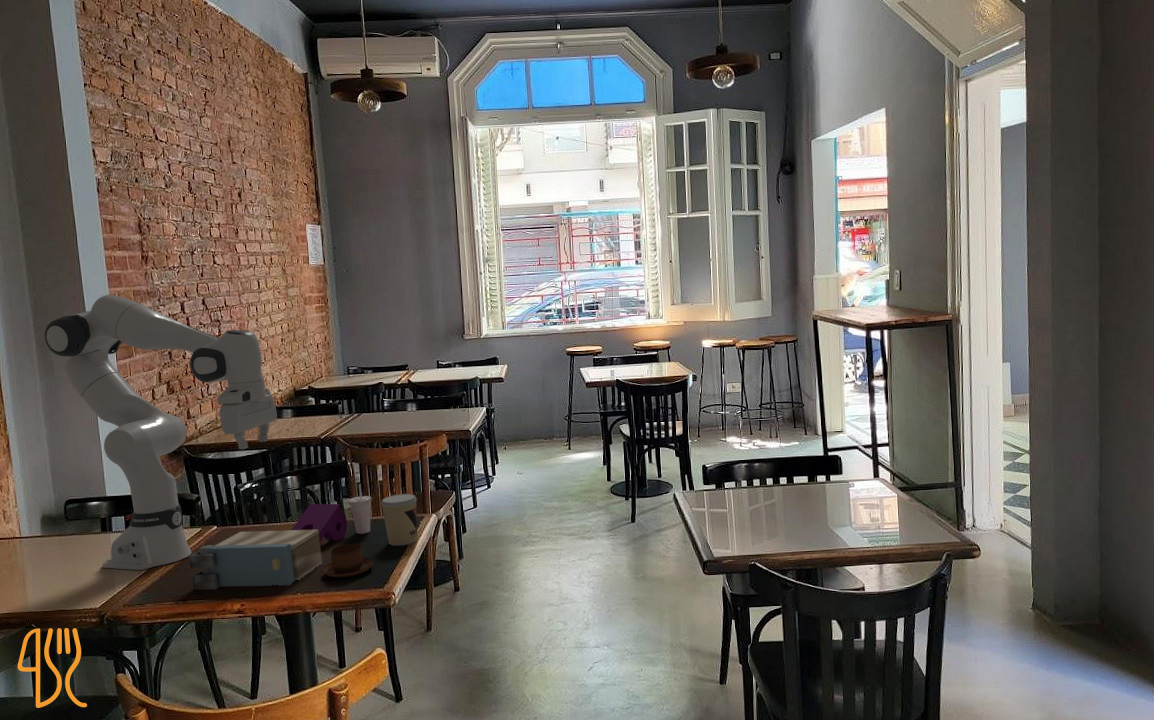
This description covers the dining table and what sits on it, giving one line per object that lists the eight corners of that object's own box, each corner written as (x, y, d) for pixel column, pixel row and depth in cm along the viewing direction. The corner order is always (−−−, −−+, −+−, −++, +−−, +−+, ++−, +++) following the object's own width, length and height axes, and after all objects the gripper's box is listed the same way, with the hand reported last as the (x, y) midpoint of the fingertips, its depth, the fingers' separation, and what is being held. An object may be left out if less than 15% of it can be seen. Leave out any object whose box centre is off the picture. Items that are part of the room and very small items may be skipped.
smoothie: (363, 536, 241) (357, 487, 239) (347, 534, 244) (341, 486, 243) (379, 529, 246) (374, 481, 245) (363, 527, 249) (358, 480, 248)
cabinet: (193, 589, 207) (188, 553, 206) (233, 565, 223) (229, 532, 222) (288, 588, 202) (283, 551, 201) (322, 563, 218) (318, 529, 218)
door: (199, 588, 207) (194, 550, 206) (209, 582, 211) (204, 545, 210) (287, 587, 203) (282, 548, 202) (295, 581, 207) (291, 543, 206)
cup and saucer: (313, 580, 207) (310, 555, 206) (343, 563, 218) (341, 540, 217) (354, 583, 202) (351, 557, 202) (383, 565, 213) (380, 541, 213)
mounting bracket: (318, 575, 229) (350, 527, 244) (306, 551, 225) (339, 504, 240) (287, 574, 232) (321, 526, 247) (275, 550, 228) (310, 503, 243)
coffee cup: (416, 545, 228) (412, 501, 227) (382, 547, 228) (377, 504, 227) (423, 534, 237) (419, 492, 236) (390, 537, 237) (385, 495, 236)
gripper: (258, 387, 231) (264, 437, 232) (213, 398, 211) (220, 453, 212) (279, 386, 230) (285, 436, 231) (236, 397, 210) (242, 452, 211)
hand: (253, 445), depth 222 cm, fingers open, 8 cm apart
